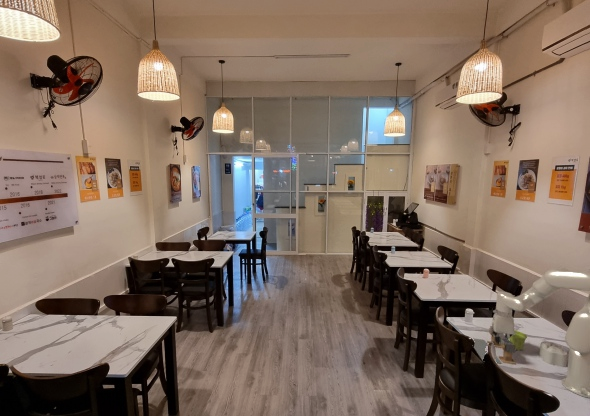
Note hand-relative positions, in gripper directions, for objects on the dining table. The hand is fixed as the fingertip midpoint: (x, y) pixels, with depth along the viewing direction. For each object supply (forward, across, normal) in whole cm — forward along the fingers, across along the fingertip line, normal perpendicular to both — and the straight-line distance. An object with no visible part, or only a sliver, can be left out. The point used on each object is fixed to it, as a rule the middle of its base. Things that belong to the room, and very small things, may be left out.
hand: (501, 342), depth 165 cm
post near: (+6, 0, -8) cm, 10 cm away
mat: (+6, -9, 0) cm, 11 cm away
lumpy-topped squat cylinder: (+7, +26, +1) cm, 27 cm away
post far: (+6, 0, +8) cm, 10 cm away
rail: (-1, 0, 0) cm, 1 cm away
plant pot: (+7, +12, +9) cm, 16 cm away
